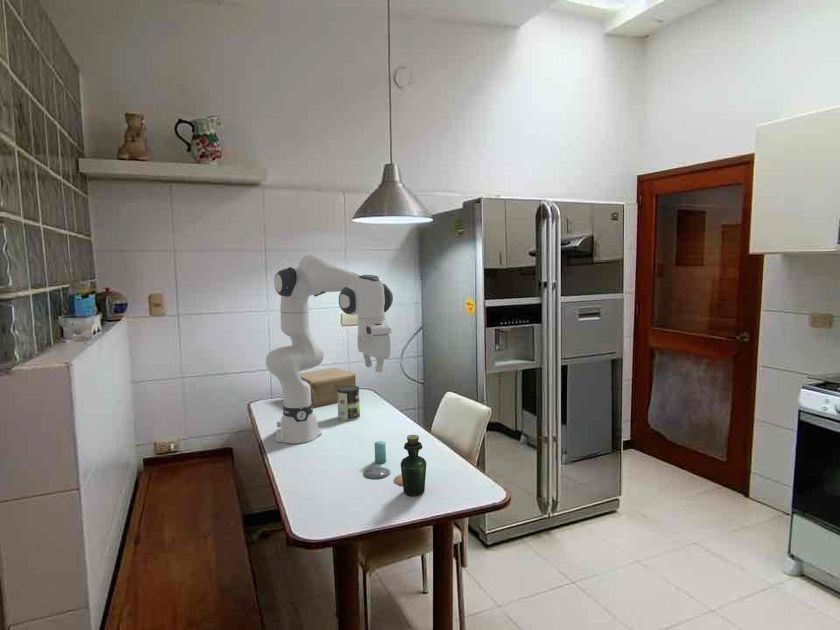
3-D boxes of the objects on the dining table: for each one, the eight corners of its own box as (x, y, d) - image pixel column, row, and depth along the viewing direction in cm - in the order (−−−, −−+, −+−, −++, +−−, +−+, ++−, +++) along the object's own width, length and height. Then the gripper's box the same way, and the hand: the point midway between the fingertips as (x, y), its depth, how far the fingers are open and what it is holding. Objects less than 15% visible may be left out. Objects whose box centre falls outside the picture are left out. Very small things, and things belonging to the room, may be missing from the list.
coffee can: (361, 414, 246) (360, 385, 244) (358, 421, 236) (357, 390, 234) (339, 414, 246) (338, 385, 245) (336, 421, 236) (334, 391, 234)
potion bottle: (400, 487, 167) (399, 433, 165) (426, 485, 167) (424, 431, 165) (401, 498, 159) (400, 442, 157) (428, 497, 159) (427, 440, 157)
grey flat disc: (360, 471, 180) (359, 470, 180) (384, 466, 184) (383, 465, 184) (369, 481, 172) (369, 479, 172) (394, 475, 176) (394, 474, 176)
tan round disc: (389, 477, 174) (389, 476, 174) (414, 472, 178) (414, 471, 178) (401, 488, 166) (400, 487, 166) (426, 482, 170) (425, 481, 170)
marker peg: (373, 460, 189) (372, 442, 188) (383, 458, 191) (383, 440, 190) (377, 464, 185) (376, 445, 185) (387, 462, 187) (387, 443, 186)
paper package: (335, 390, 293) (334, 365, 292) (359, 399, 273) (358, 373, 271) (290, 398, 277) (289, 373, 275) (312, 409, 256) (310, 381, 255)
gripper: (351, 324, 172) (353, 365, 174) (373, 330, 154) (375, 376, 155) (369, 322, 175) (371, 363, 176) (393, 328, 157) (395, 373, 158)
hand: (373, 369), depth 166 cm, fingers open, 8 cm apart
